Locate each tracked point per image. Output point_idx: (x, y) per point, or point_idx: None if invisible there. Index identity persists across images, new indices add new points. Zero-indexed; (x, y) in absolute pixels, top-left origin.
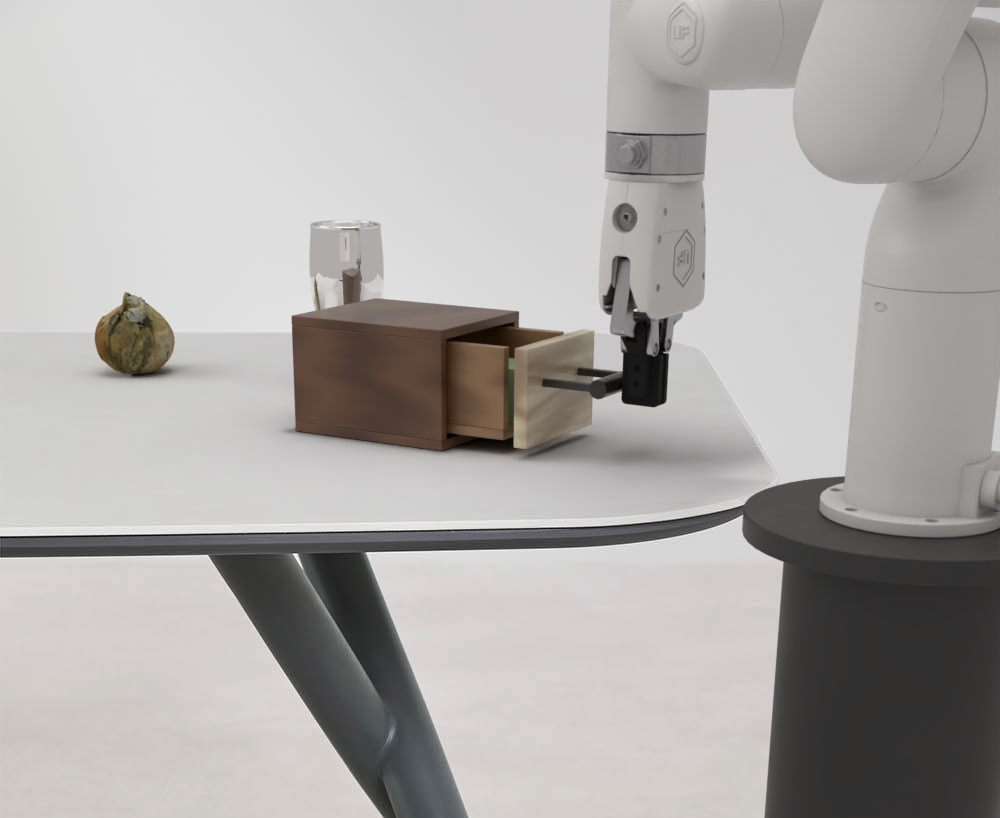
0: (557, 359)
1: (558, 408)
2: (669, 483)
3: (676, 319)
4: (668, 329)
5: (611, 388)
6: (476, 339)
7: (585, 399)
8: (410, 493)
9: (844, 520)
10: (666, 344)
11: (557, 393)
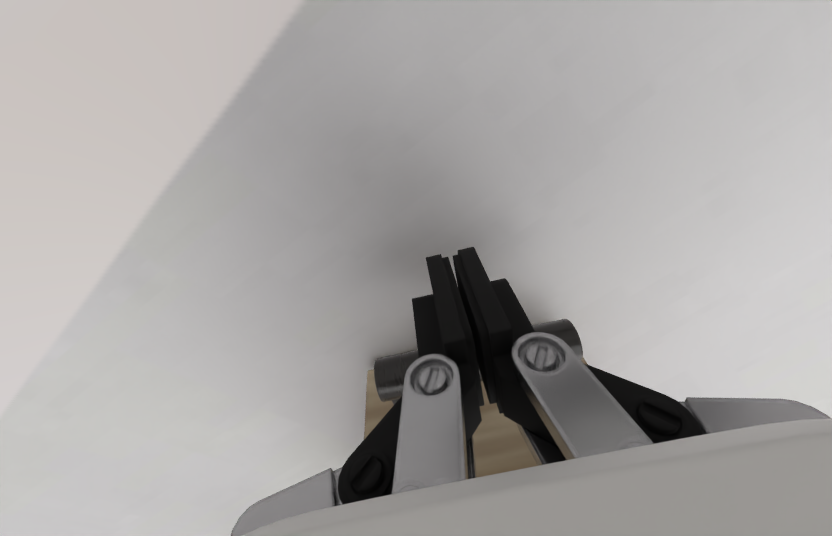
0: (515, 465)
1: (482, 383)
2: (587, 58)
3: (300, 495)
4: (448, 427)
5: (545, 331)
6: None
7: (391, 401)
8: (783, 293)
9: None
10: (444, 377)
11: (494, 404)
